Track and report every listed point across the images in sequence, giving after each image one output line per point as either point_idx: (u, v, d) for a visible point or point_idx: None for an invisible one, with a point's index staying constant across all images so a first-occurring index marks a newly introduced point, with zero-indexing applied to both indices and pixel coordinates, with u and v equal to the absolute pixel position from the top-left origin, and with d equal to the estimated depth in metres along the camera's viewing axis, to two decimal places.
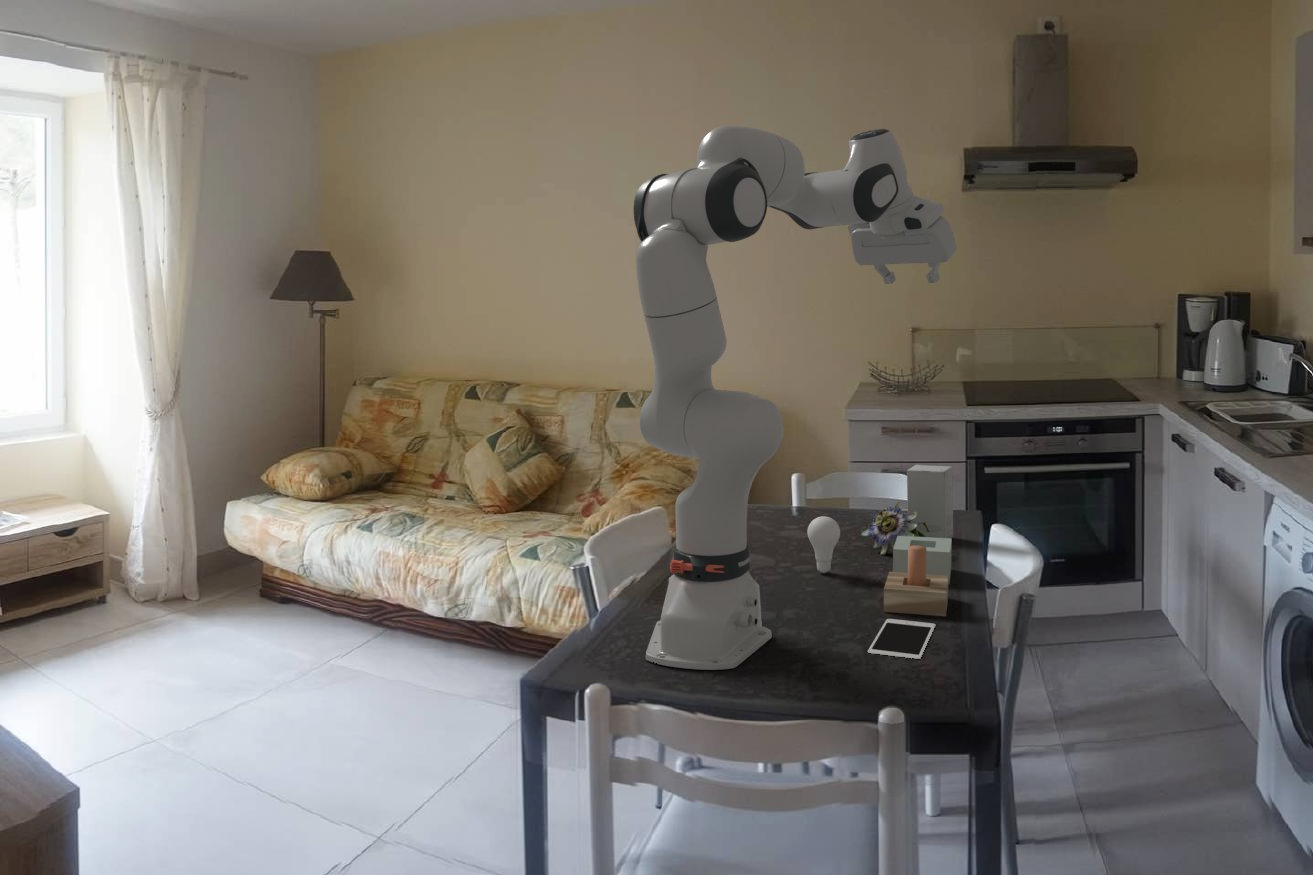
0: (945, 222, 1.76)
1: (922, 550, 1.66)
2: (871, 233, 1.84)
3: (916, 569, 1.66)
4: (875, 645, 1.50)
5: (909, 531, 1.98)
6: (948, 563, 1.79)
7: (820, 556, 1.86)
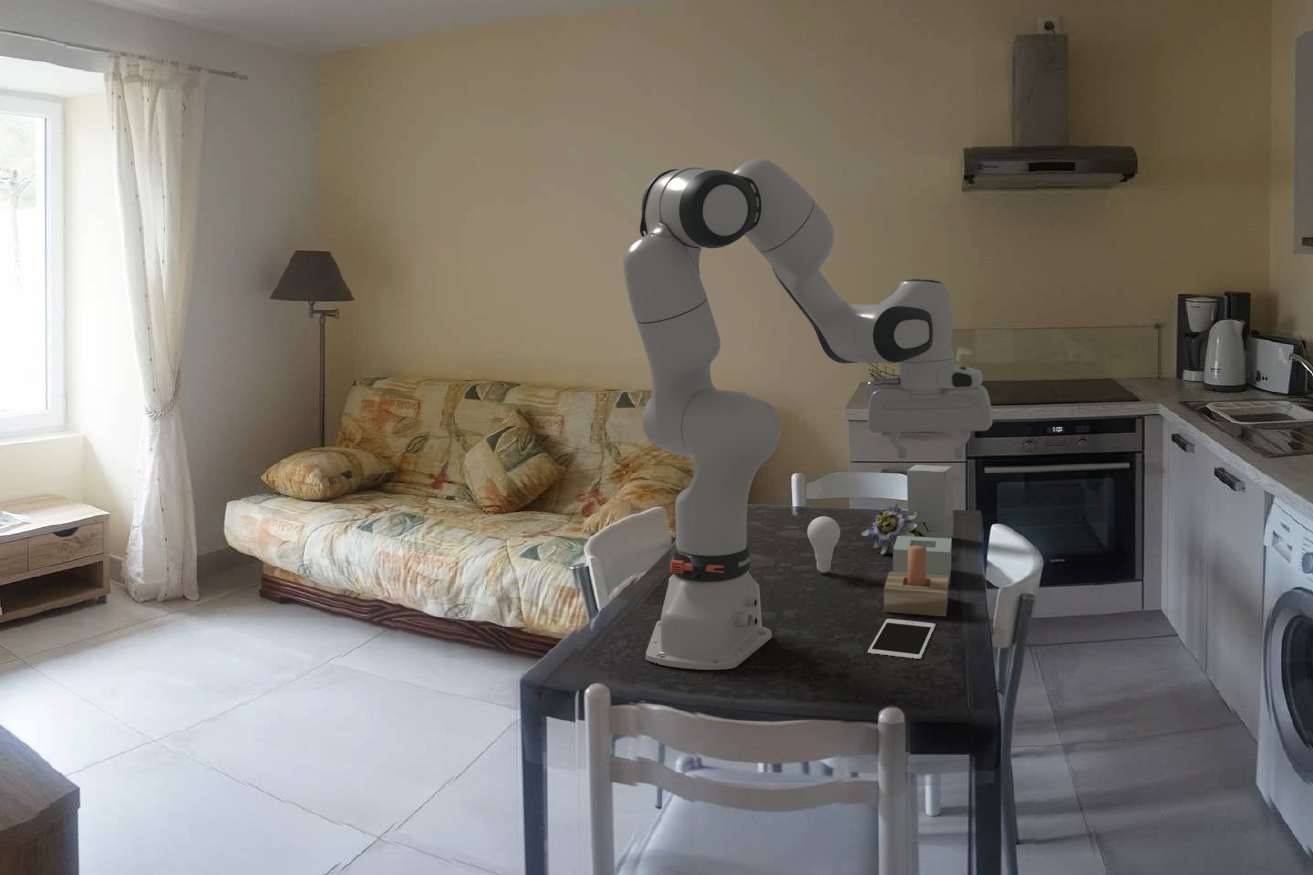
0: (986, 390, 1.64)
1: (922, 550, 1.66)
2: (900, 393, 1.66)
3: (916, 569, 1.66)
4: (875, 645, 1.50)
5: (909, 531, 1.98)
6: (948, 563, 1.79)
7: (820, 556, 1.86)
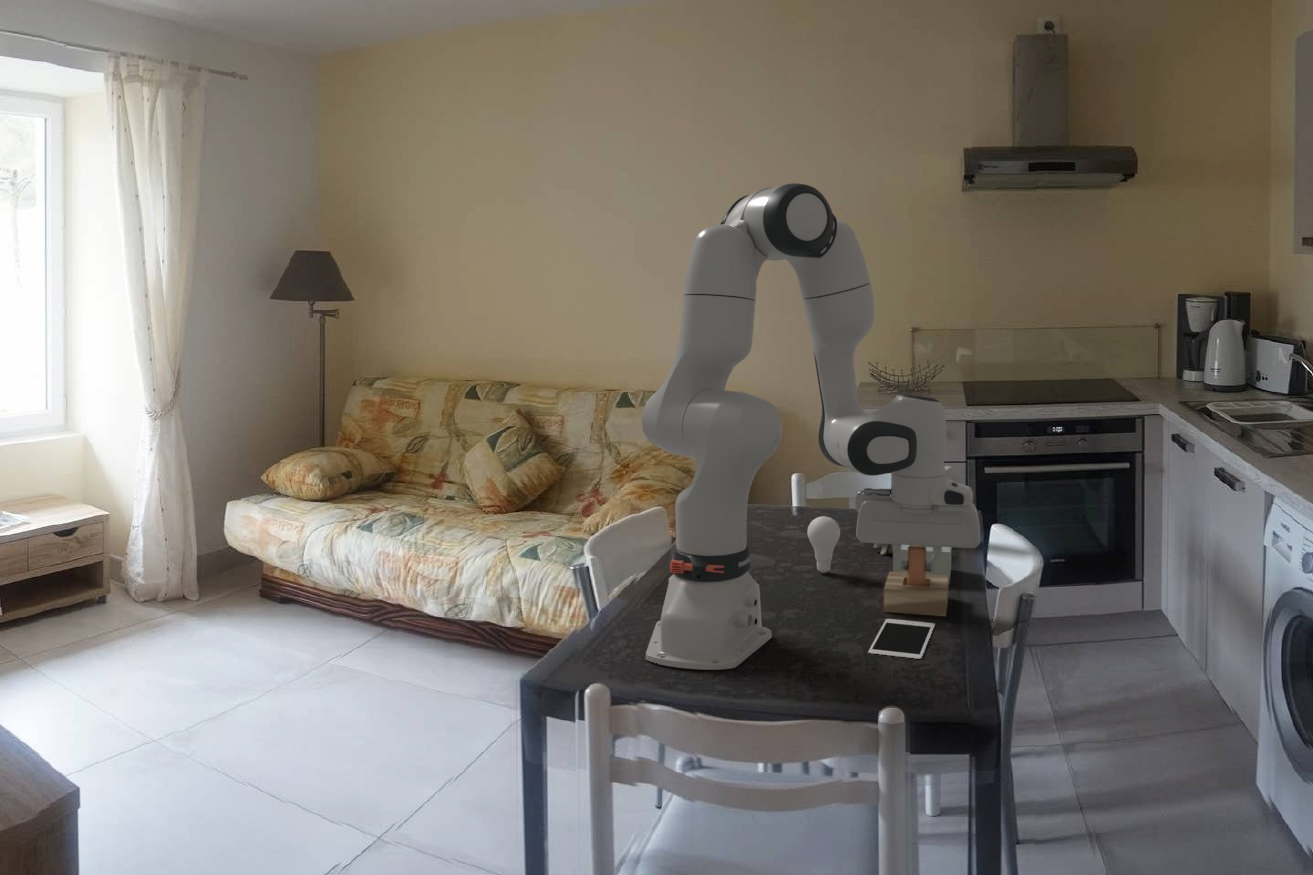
0: (975, 507, 1.65)
1: (922, 550, 1.66)
2: (890, 505, 1.66)
3: (916, 569, 1.66)
4: (875, 645, 1.50)
5: None
6: (948, 563, 1.79)
7: (820, 556, 1.86)
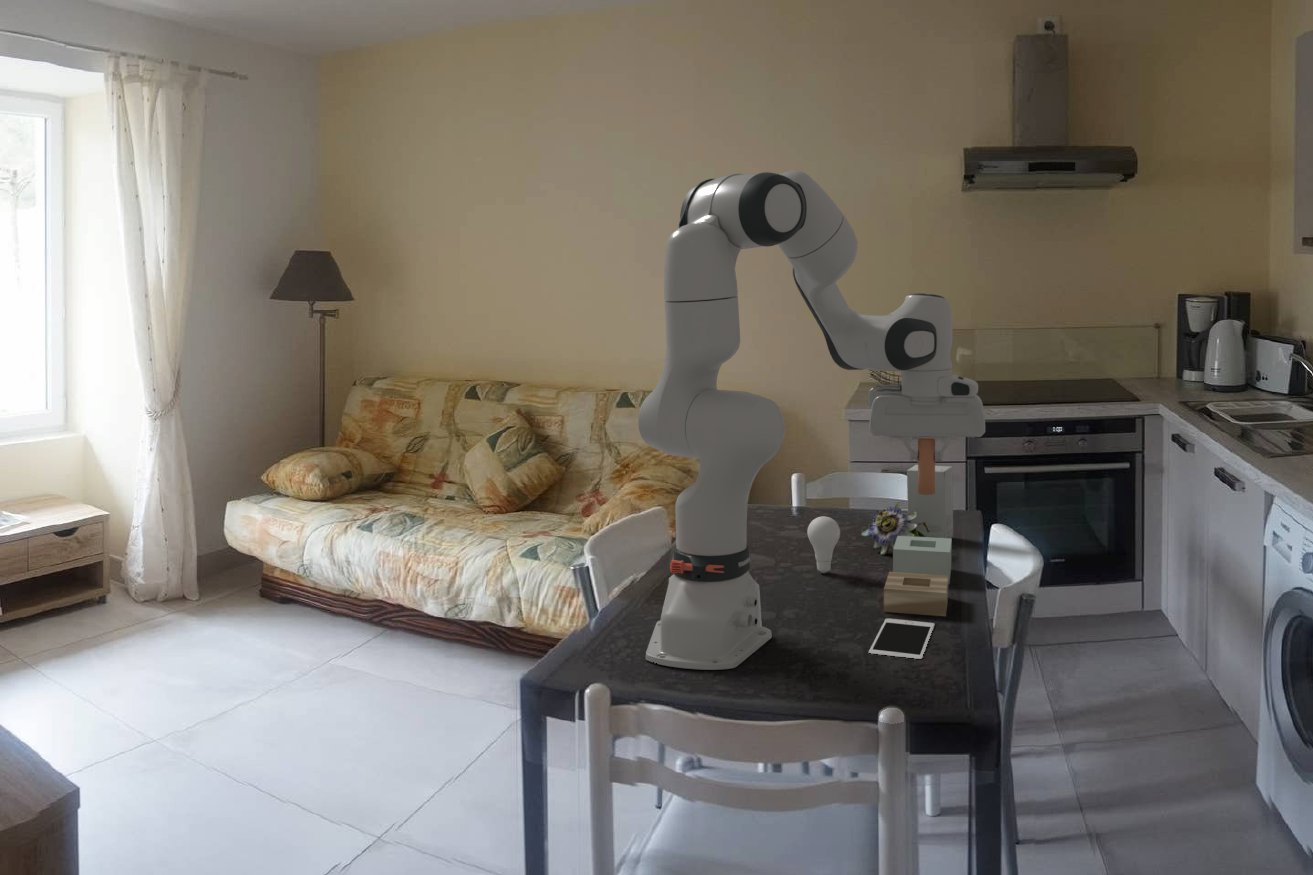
0: (980, 399, 1.76)
1: (931, 441, 1.78)
2: (901, 399, 1.77)
3: (926, 458, 1.78)
4: (876, 645, 1.50)
5: (909, 531, 1.98)
6: (948, 563, 1.79)
7: (820, 556, 1.86)
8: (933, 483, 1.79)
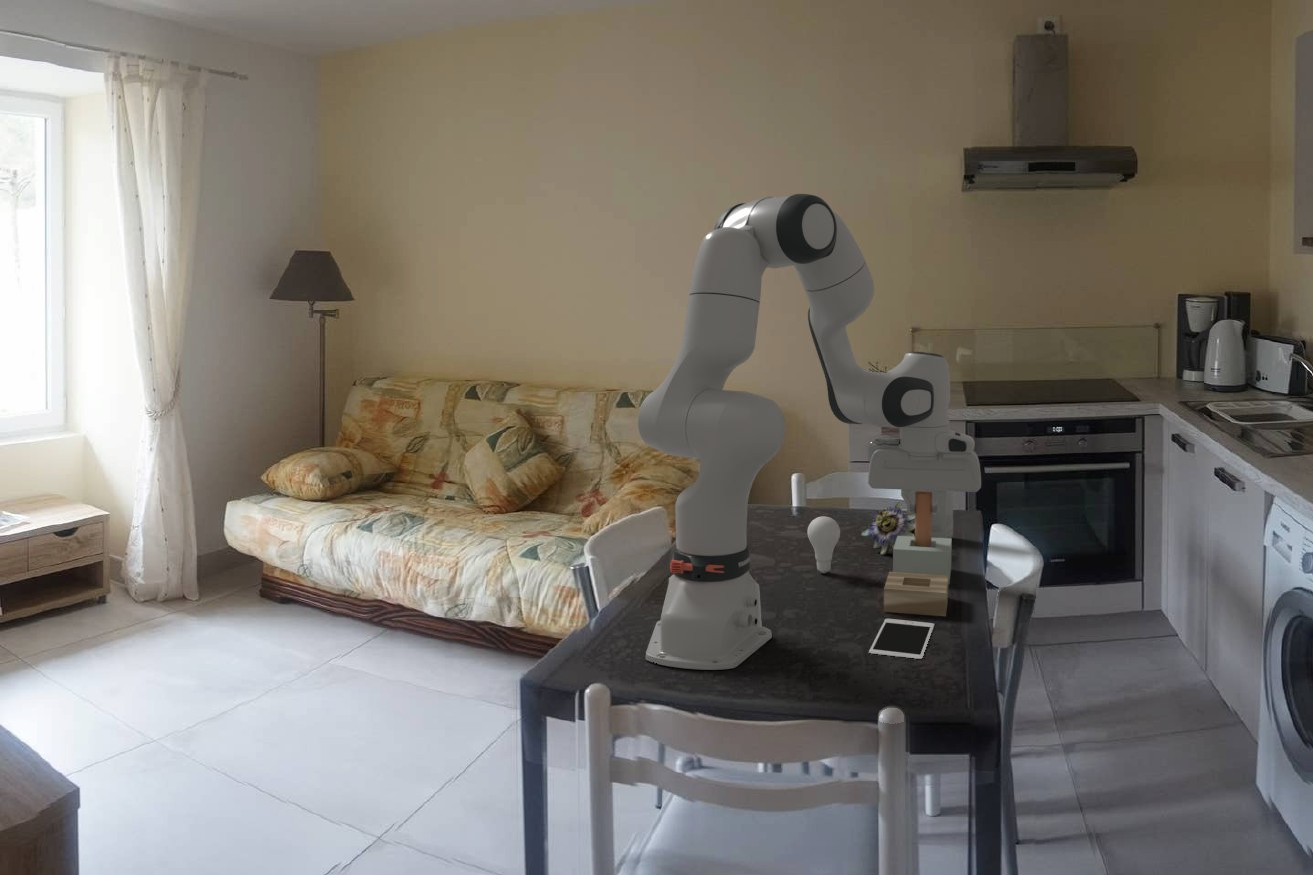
0: (976, 454, 1.81)
1: (928, 494, 1.82)
2: (899, 453, 1.82)
3: (923, 511, 1.82)
4: (876, 645, 1.50)
5: (909, 531, 1.98)
6: (948, 563, 1.79)
7: (820, 556, 1.86)
8: (930, 535, 1.84)
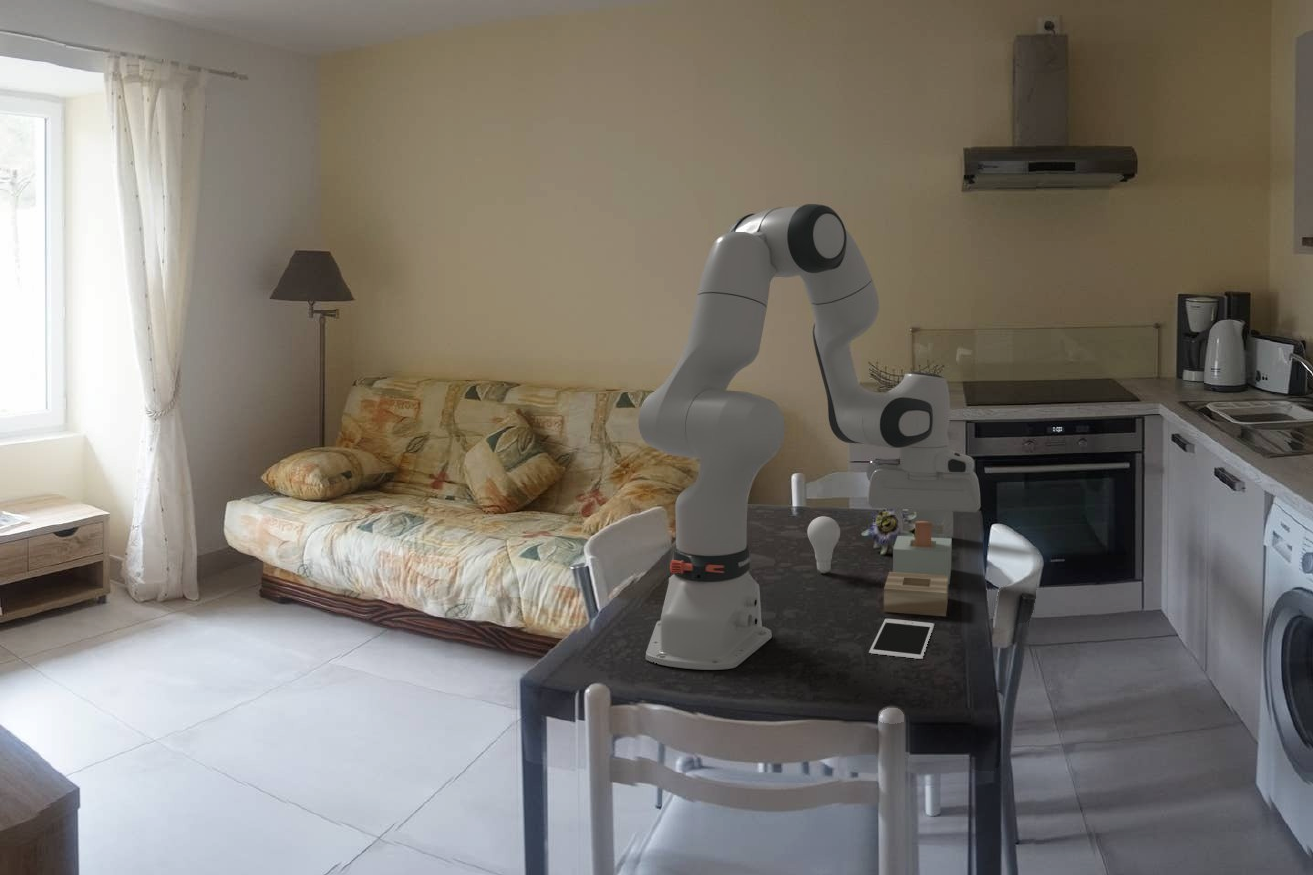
0: (976, 475, 1.81)
1: (928, 525, 1.83)
2: (899, 473, 1.82)
3: (922, 542, 1.83)
4: (876, 645, 1.50)
5: (909, 531, 1.98)
6: (948, 563, 1.79)
7: (820, 556, 1.86)
8: None
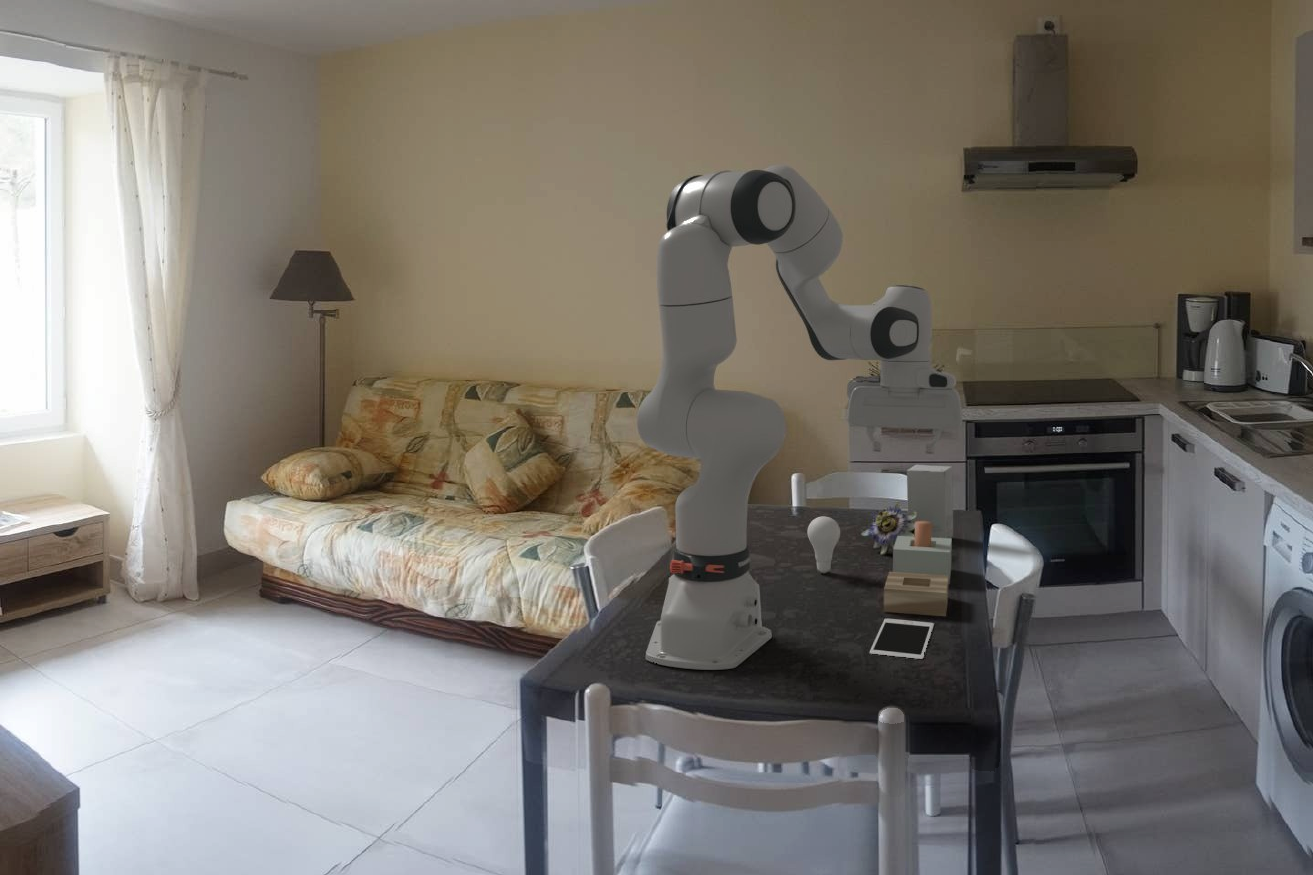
0: None
1: (928, 525, 1.83)
2: (879, 390, 1.79)
3: (922, 542, 1.83)
4: (876, 645, 1.50)
5: (909, 531, 1.98)
6: (948, 563, 1.79)
7: (820, 556, 1.86)
8: None
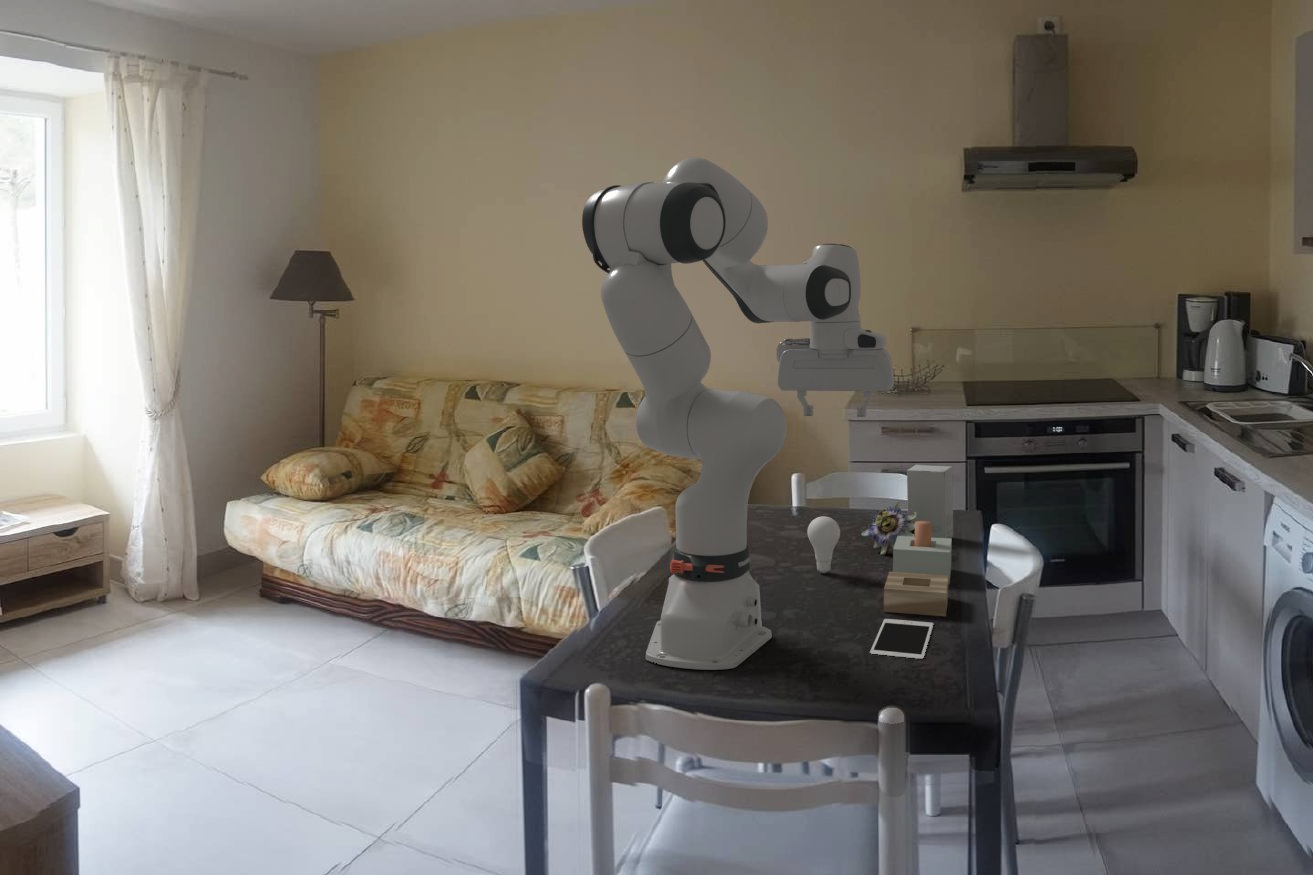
0: None
1: (928, 525, 1.83)
2: (808, 352, 1.74)
3: (922, 542, 1.83)
4: (877, 646, 1.50)
5: (909, 531, 1.98)
6: (948, 563, 1.79)
7: (820, 556, 1.86)
8: None
